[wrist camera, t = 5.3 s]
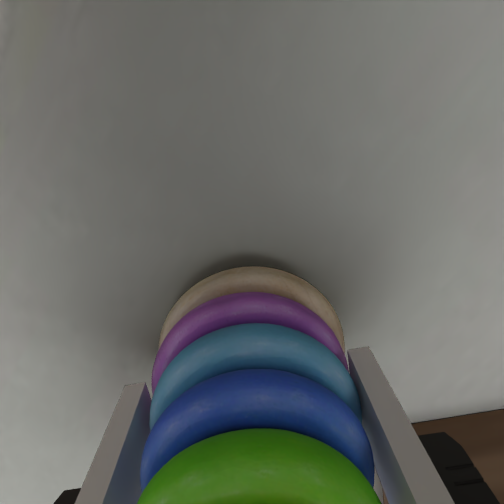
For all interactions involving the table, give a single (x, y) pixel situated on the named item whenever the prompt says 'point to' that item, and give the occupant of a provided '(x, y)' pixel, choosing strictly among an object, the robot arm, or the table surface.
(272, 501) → the stacking toy
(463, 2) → the table surface
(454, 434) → the plinth
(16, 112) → the table surface
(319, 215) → the table surface
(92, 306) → the table surface
